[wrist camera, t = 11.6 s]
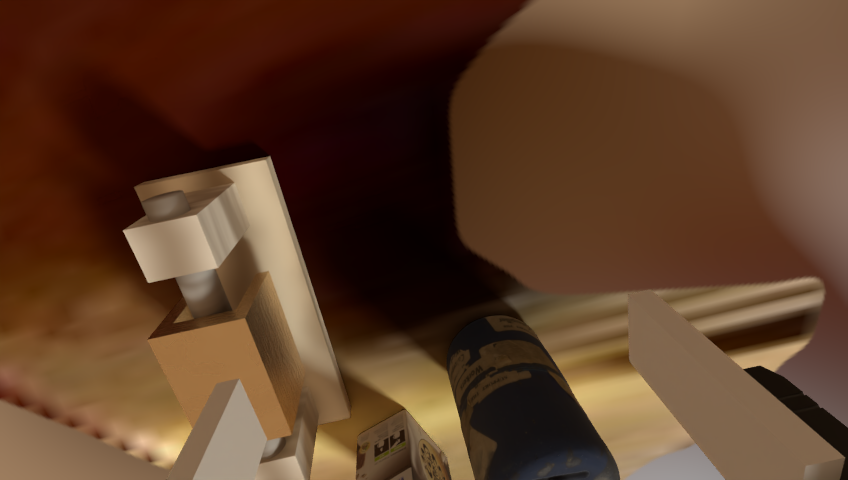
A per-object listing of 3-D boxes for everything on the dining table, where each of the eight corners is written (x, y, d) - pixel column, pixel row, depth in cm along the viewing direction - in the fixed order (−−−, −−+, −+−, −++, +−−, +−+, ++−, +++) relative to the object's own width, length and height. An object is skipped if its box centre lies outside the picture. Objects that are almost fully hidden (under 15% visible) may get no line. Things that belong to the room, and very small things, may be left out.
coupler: (268, 270, 34) (244, 318, 28) (305, 372, 38) (291, 435, 32) (189, 287, 34) (147, 339, 28) (234, 388, 38) (206, 454, 31)
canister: (454, 303, 42) (509, 461, 25) (547, 312, 43) (658, 467, 26) (436, 385, 45) (474, 573, 28) (523, 391, 46) (609, 572, 30)
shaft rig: (270, 156, 35) (236, 186, 26) (351, 406, 45) (346, 490, 36) (143, 182, 34) (65, 221, 26) (253, 429, 44) (224, 518, 35)
